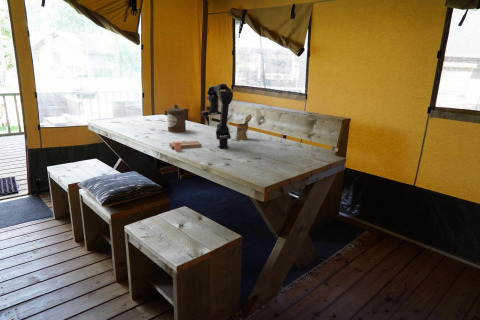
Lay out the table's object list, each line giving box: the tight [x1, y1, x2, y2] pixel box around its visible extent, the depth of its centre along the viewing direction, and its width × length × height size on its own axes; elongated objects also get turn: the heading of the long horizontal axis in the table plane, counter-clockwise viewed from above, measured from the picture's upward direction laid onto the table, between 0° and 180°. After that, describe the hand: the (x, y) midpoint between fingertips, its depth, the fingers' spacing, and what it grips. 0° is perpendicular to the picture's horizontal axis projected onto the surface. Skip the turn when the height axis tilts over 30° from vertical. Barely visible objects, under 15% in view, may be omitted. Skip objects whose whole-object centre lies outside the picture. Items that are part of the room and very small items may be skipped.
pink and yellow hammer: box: [172, 139, 182, 152], centre depth 225 cm, size 13×4×6 cm, turn 22°
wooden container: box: [166, 104, 187, 133], centre depth 278 cm, size 15×15×22 cm
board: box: [169, 140, 202, 150], centre depth 231 cm, size 10×20×2 cm, turn 112°
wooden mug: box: [235, 114, 253, 141], centre depth 255 cm, size 9×14×18 cm, turn 127°
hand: (214, 125), depth 244 cm, fingers open, 9 cm apart
